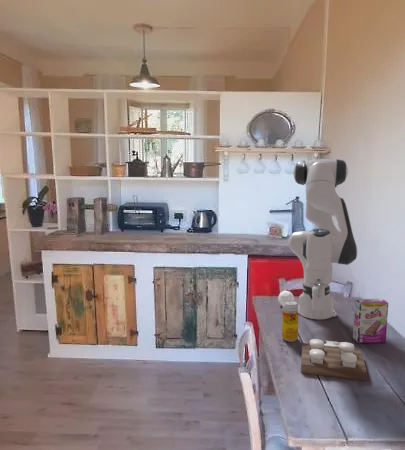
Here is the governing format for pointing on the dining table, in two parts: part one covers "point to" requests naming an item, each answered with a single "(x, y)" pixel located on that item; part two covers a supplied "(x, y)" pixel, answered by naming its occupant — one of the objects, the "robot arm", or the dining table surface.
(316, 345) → the button
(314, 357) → the button
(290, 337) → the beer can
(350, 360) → the button
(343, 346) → the button
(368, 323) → the candy bar box
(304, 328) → the dining table surface
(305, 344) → the button board
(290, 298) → the geometric ball
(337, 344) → the pattern plaque
